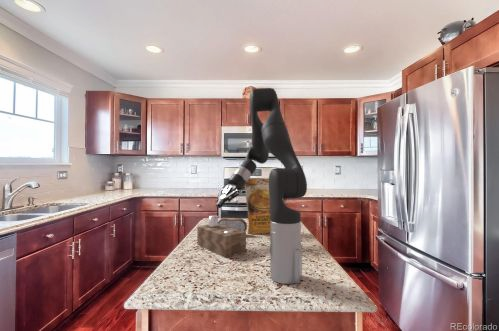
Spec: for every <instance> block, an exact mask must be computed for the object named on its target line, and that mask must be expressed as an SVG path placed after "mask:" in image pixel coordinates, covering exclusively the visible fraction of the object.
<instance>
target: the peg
mask: <svg viewBox="0 0 499 331" xmlns="http://www.w3.org/2000/svg"><path fill="white" fill-rule="evenodd" d="M218 222H219V216H218V215H209V216H208V225H209V228H217V227H218Z"/></svg>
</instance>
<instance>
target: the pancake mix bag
mask: <svg viewBox="0 0 499 331" xmlns="http://www.w3.org/2000/svg"><path fill="white" fill-rule="evenodd" d="M244 191H245V200H246V208H247V219H248V227H247V234H250V235H251V234H252V235H261V234H262V235H264V234H270V199H269V178H249V180H248V181H247V183H246V184H245V185H244Z"/></svg>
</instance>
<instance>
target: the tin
mask: <svg viewBox="0 0 499 331" xmlns="http://www.w3.org/2000/svg"><path fill="white" fill-rule="evenodd" d="M218 224H221V225H225V226H228V227H231V228H235V229H238V230H242V231H245V232H247V230H248V224H247V222H246V220H244V219H243V218H241V217H240V218H239V217H222V218H220V219H218Z"/></svg>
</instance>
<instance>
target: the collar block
mask: <svg viewBox="0 0 499 331" xmlns="http://www.w3.org/2000/svg"><path fill="white" fill-rule="evenodd" d="M226 230H232V231H234V232H232V233H224V231H226ZM196 233H197V239H196V240H197V242H196V243H197V246H199V247H201V248H203V249H206V250H208V251H209V252H212V253H214V254H216V255H218V256H220V257H222V258H225V259H226V258H230V257H233V256H236V255H240V254H243V253H247V231H242V230H238V229H235V228H231V227H228V226H225V225H221V224H218V227H217V228H209V224H205V225H204V224H203V225H198V226H197V231H196Z"/></svg>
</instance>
